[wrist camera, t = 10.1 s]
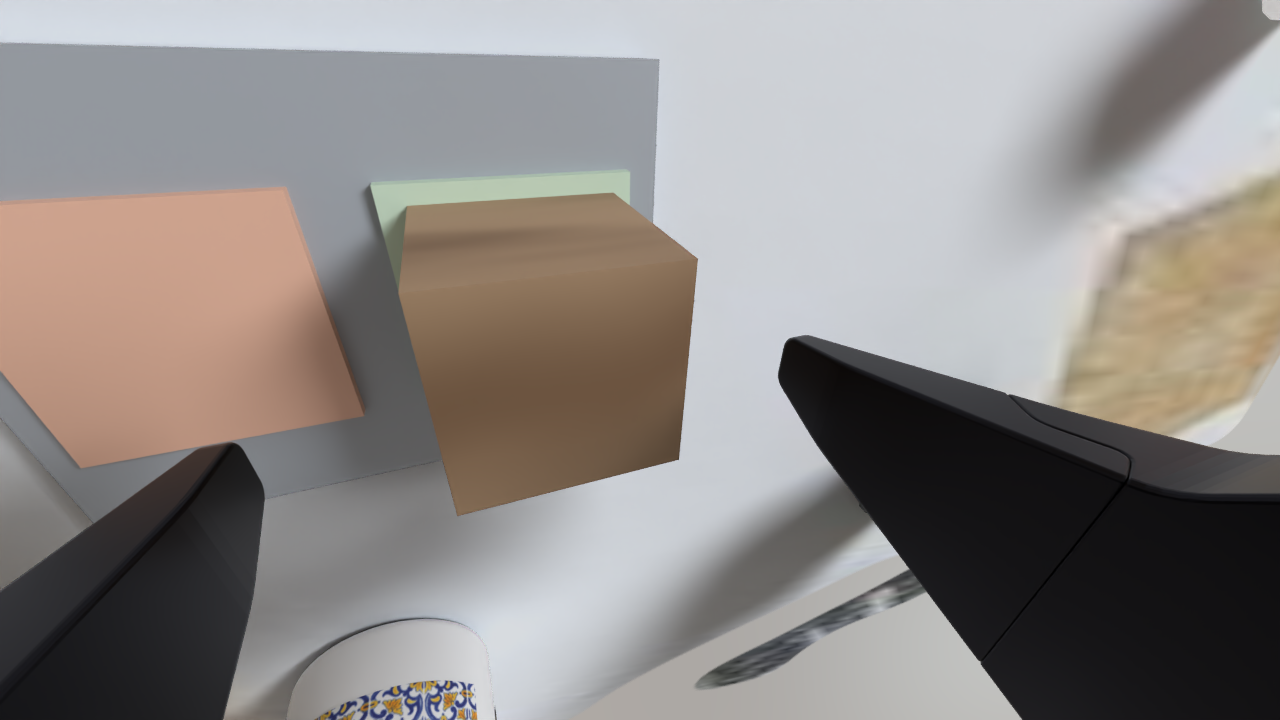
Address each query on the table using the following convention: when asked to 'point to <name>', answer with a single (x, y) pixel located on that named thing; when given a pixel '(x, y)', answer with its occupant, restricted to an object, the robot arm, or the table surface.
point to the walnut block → (546, 340)
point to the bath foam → (399, 676)
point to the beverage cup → (1271, 9)
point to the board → (261, 241)
